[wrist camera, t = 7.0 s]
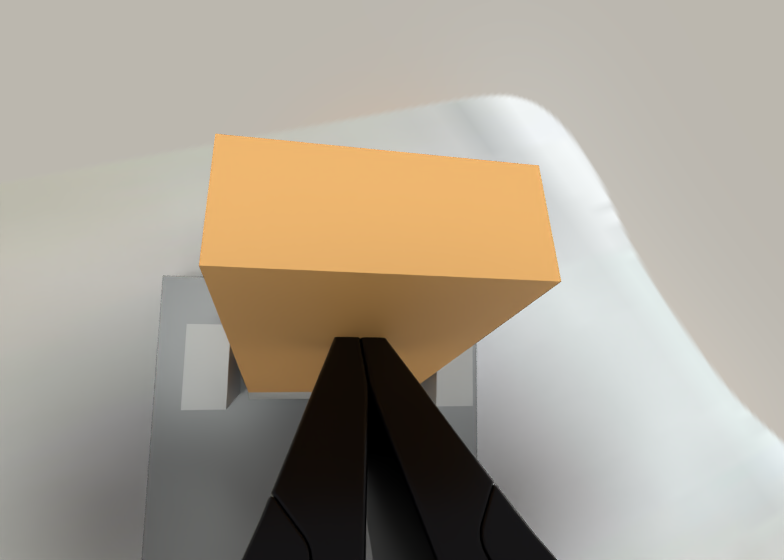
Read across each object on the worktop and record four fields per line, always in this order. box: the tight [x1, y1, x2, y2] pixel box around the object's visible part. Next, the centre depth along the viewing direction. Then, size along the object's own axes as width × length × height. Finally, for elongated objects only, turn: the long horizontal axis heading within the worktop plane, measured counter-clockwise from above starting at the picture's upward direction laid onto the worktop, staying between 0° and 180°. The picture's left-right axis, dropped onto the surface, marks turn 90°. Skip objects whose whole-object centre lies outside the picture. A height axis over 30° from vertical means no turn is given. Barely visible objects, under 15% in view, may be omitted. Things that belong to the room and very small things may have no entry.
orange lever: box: [199, 134, 561, 399], centre depth 10 cm, size 2×4×10 cm, turn 88°
